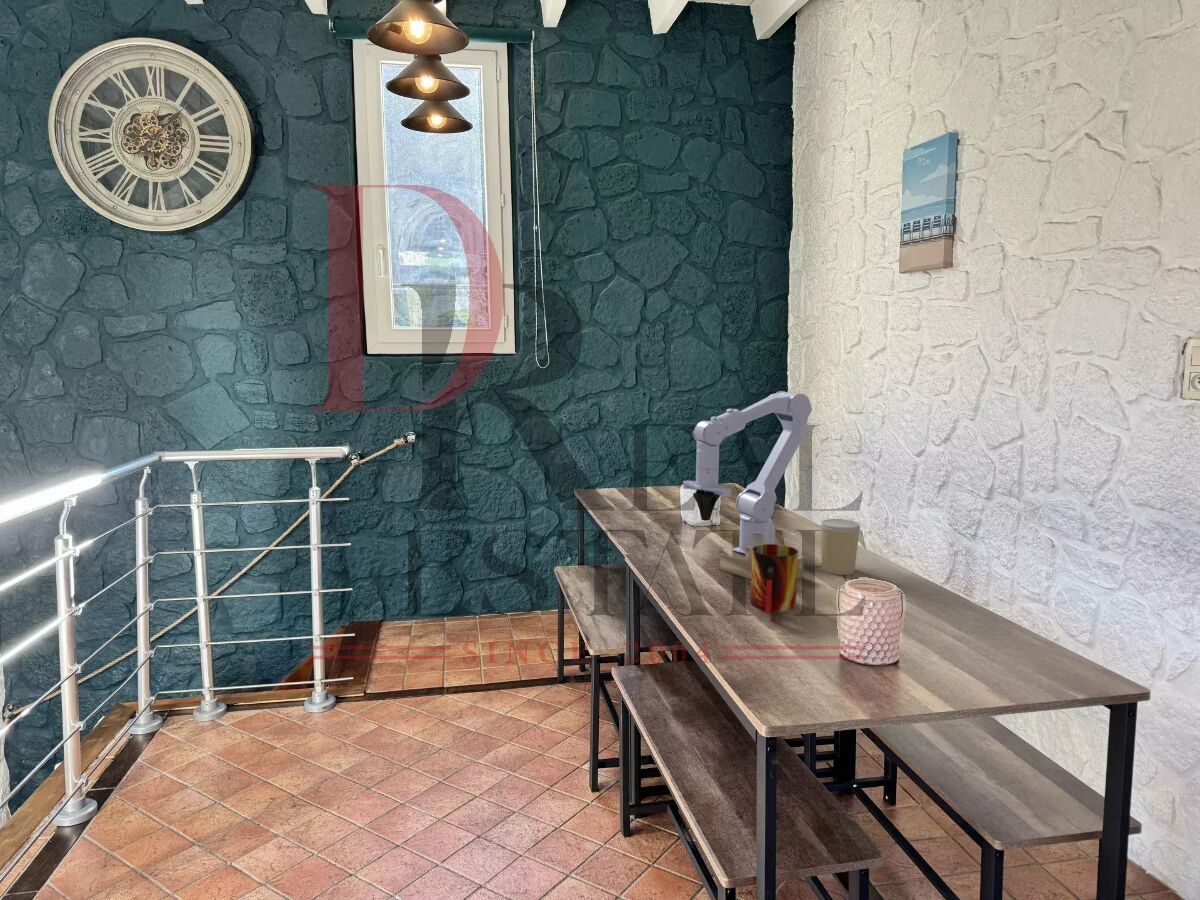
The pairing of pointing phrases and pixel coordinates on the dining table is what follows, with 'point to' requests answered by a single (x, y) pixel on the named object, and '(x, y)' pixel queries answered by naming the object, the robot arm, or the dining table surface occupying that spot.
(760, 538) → the flask
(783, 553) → the mug
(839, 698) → the dining table surface
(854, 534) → the coffee cup
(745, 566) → the lane
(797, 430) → the robot arm
